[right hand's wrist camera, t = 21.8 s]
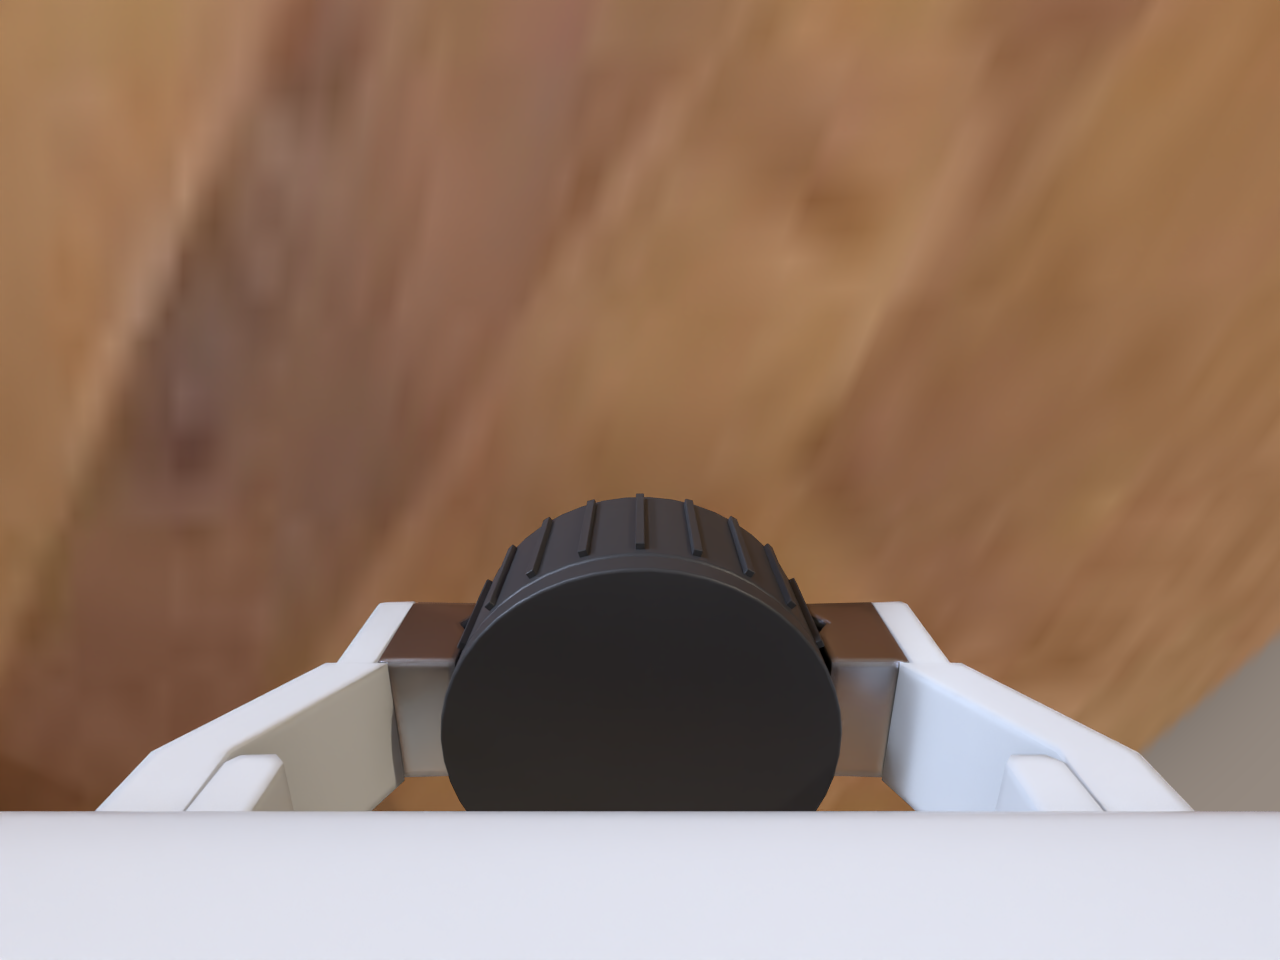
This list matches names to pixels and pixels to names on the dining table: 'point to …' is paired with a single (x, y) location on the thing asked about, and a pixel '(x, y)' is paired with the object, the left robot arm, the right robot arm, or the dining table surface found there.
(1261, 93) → the dining table surface
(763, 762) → the lid
